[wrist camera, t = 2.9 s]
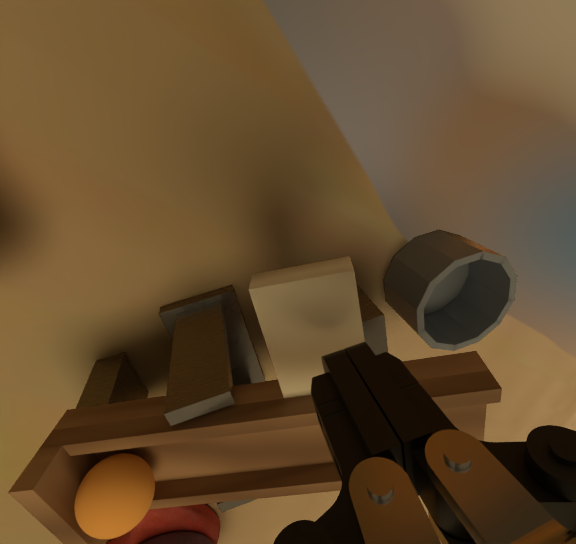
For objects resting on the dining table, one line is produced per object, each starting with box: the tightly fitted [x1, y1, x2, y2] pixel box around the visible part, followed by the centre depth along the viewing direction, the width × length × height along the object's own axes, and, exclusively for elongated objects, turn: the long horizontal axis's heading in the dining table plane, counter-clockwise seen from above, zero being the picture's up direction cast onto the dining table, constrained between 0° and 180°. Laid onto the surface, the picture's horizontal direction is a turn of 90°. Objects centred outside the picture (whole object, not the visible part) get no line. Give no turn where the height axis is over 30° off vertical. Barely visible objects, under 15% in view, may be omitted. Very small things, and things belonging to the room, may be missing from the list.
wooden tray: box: [8, 256, 502, 544], centre depth 15 cm, size 12×21×4 cm, turn 103°
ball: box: [74, 453, 155, 539], centre depth 16 cm, size 4×4×4 cm
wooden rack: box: [76, 284, 388, 512], centre depth 21 cm, size 9×19×9 cm, turn 103°
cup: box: [384, 230, 517, 351], centre depth 25 cm, size 8×8×4 cm
